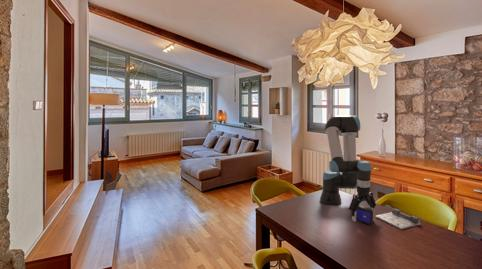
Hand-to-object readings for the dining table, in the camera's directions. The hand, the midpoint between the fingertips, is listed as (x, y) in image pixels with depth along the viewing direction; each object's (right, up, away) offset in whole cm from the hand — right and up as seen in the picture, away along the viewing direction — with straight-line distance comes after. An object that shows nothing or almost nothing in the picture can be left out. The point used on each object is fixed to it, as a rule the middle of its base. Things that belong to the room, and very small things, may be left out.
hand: (362, 218), depth 164 cm
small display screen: (0, -1, +1) cm, 1 cm away
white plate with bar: (+21, -1, -2) cm, 21 cm away
